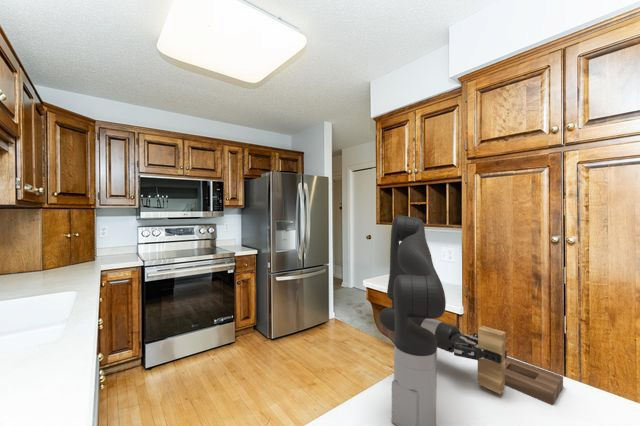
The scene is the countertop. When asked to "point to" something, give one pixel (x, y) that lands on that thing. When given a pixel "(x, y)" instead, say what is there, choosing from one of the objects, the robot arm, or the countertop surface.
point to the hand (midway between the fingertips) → (503, 357)
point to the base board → (533, 380)
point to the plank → (488, 370)
